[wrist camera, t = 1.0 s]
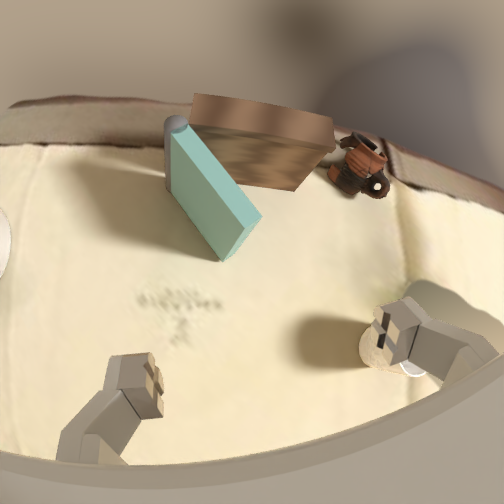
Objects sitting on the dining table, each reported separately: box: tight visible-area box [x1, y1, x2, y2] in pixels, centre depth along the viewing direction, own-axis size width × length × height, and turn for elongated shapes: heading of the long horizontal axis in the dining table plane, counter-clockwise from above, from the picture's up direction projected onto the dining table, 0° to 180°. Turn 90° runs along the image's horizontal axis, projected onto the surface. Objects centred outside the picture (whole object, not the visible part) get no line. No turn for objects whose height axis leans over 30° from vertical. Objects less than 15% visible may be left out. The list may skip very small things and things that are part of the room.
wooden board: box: [189, 93, 336, 192], centre depth 38 cm, size 17×5×13 cm, turn 89°
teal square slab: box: [164, 115, 262, 262], centre depth 34 cm, size 14×2×14 cm, turn 38°
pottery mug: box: [327, 132, 390, 199], centre depth 47 cm, size 12×10×8 cm
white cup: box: [359, 327, 427, 377], centre depth 38 cm, size 8×8×10 cm
